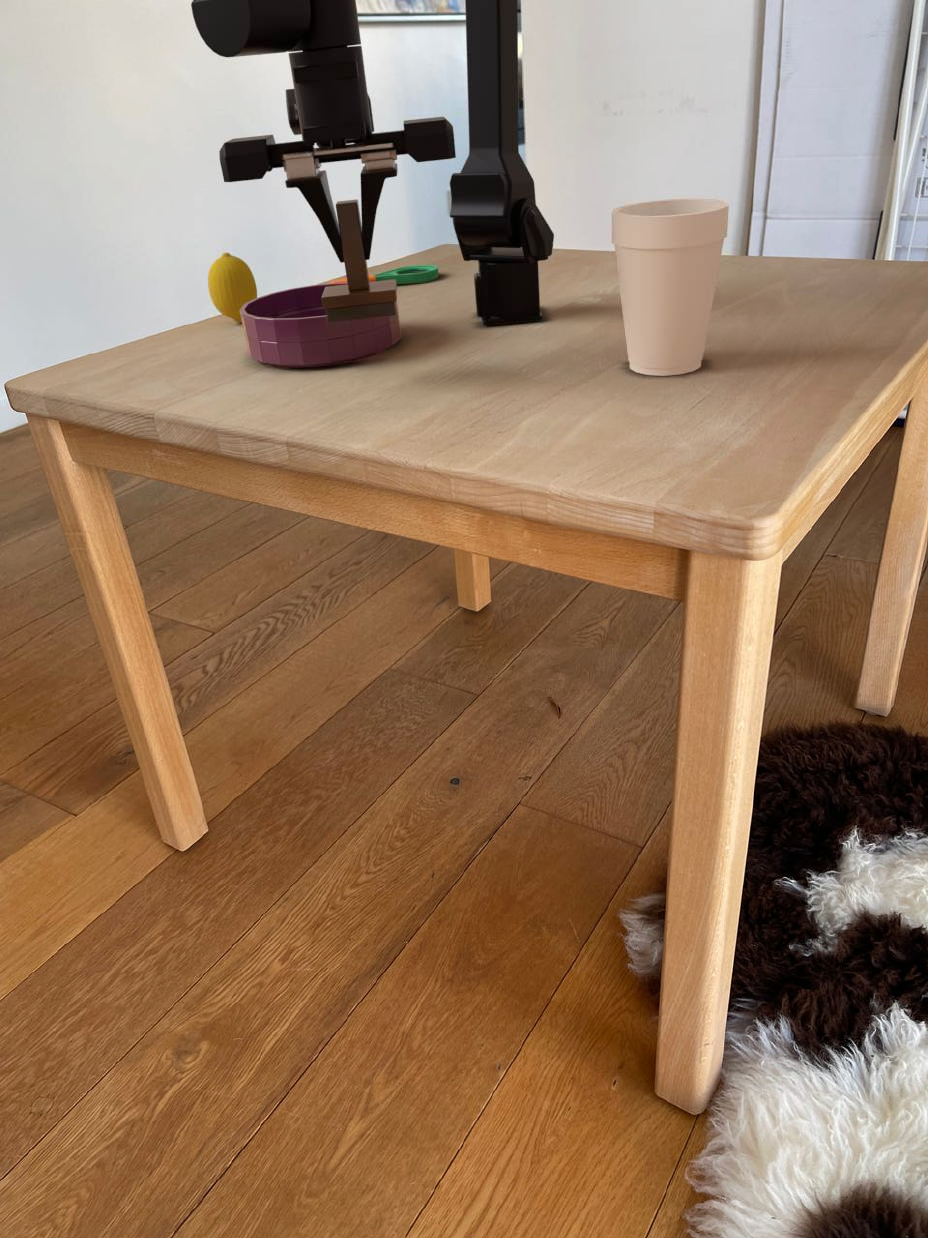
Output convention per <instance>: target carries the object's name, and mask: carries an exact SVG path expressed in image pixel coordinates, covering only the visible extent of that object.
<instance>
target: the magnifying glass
mask: <svg viewBox="0 0 928 1238" xmlns="http://www.w3.org/2000/svg"><path fill="white" fill-rule="evenodd" d="M368 275H369V274H368ZM439 277H440V276H439V267H438V266H437V265H432V264H418V265H417V264H416V265H407V266H402V267H397V268H393V269H390V270H389V269H388V270H385V271H383V272H379V273H376V274H370V275H369V282H375V281H384V280H394V279H395V280H396V285H406V284H407V285H408V284H409V285H410V284H418V283H426V282H430V281H433V280H434V281H435V280H437V279H438V278H439ZM330 283H347V278H342V279H335V280H330V281H329V284H330Z"/></svg>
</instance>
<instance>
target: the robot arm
mask: <svg viewBox="0 0 928 1238" xmlns="http://www.w3.org/2000/svg"><path fill="white" fill-rule="evenodd" d="M518 3H519V2H518V0H464V5H465V6H464V8H465V40H466V41H465V42H466V44H465V45H466V77H467V78H466V79H467V80H466V81H467V82H466V83H467V84H466V85H467V117H468V155H467V158H466V160H465V162H464V164H463V166H462V168H461V170H460V172H453V173H452V174H451V177H450V179H449V190H450V196H451V197H450V198H451V202H450V203H451V204H450V206H451V207H450V213H449V218H451V219H452V224H453V229H454V233H455V236H456V239H457V242H458V245H459V249H460V252H461V255H462V260H463V261H464V262H470V261H477V265H478V272H475V273H474V274H473V283H474V299H475V309H476V310H475V311H476V315H477V317H478V318H481V322H482V325H483V326H493V325H501V324H503V325H504V324H514V323H523V322H533V321H535V322H536V321H542V320H543V319H544V318H543V317H544V316H543V313H542V311H541V299H540V275H539V273H540V272H539V262H543V261H547V260H549V257H550V256H552V254H553V248H554V239H555V234H554V232H553V230H552V229H551V226H550V225H549V224H548V221H547V220H546V218H545V217H544V215H543V213H542V212H541V210H540V209H539V207H538V205H537V202H536V188H535V180H534V178H533V177H532V175H531V173H530V171H529V169H528V167H527V165H526V164H525V162H524V160H523V158H522V156H521V154H520V150H519V27H518V26H519V20H518V19H519V17H518V15H519V13H518V12H519V9H518V8H519V6H518V5H519V4H518ZM190 7H191V13H192V17H193V21H194V23H195V27H196V29H197V31H198V34H199V36H200V37H201V39H202V40H203V43H204V44H205V45H206V46H207V47H208V48H209V50H211V52H213V53H215V54H216V55H217V56H220V57H223V58H238V57H250V56H260V55H271V54H272V55H273V54H282V53H287V52H288V59H289V66H290V71H291V78H292V84H293V88H288V89H285V103H286V111H287V120H288V121H287V122H288V125H289V128H290V130H291V132H292V135H294V136H299V135H300V136H301V139H302V140H296V141H288V142H287V141H286V142H277V143H276V139H275V137H274V134H265V135H256V136H255V135H253V136H246V137H237V138H232V139H230V140H227V141H225V142H224V143H223V144H222V146H221V148H220V149H219V151H218V152H219V153H218V154H219V163H220V168H221V169H220V170H221V173H222V178H223V182H224V183H236V182H245V181H254V180H255V181H257V180H263V179H264V177H265V175H266V174H267V173H268V172H272V171H273V169H278V168H279V169H280V168H283V170H284V172H285V174H286V180H285V181H284V183H285V187H286V189H294V188H295V189H298V190H299V191H300V194H301V195H302V196H303V198H304V199H305V201H306V202H307V203H308V205H309V207H310V208H311V210H312V211H313V213H314V214H315V216H316V217H317V219H318V221H319V223H320V225H321V226H322V229H323V231H324V233H325V235H326V237H327V240H328V241H329V243H330V245H331V247H332V248H333V251H334V252H335V255H336V257H337V259H338V261H339V262H340V264H341V263H344V257H343V250H342V244H341V237H340V231H339V224H338V217H337V212H336V208H335V204H334V202H333V198H332V194H331V190H330V186H329V185H330V184H329V179H328V175H327V170H326V169H325V170H324V169H323V170H321V167H322V164H326V163H328V164H329V163H336V162H337V163H338V162H346V161H355V160H361V164H364V165H363V166H362V169H361V171H360V174H359V175H360V209H361V210H360V211H361V212H360V214H361V225H362V244H363V249H364V254H365V260H366V261H370V258H371V252H372V245H373V237H374V231H375V224H376V215H377V210H378V206H379V202H380V198H381V196H382V191H383V188H384V184H385V180H386V179H389V178H395V177H397V176H398V170H399V168H398V163H397V162H396V161H397V160H398V156H402V155H404V156H405V155H408V156H409V157H411V159H413V160H414V161H415V162H416V163H424V162H425V163H426V162H434V161H435V162H436V161H443V160H445V161H446V160H451V159H456V158H457V153H456V142H455V134H454V125H453V124H452V123H451V122H450V121H449V120H448V119H447V118H446V117H445V116H435V117H426V118H417V119H406V120H403V129H401V130H391V131H382V132H375V125H374V117H373V109H372V101H371V97H370V95H369V93H368V86H367V77H366V70H365V61H364V55H363V47H362V41H361V40H362V39H361V32H360V24H359V23H360V22H359V16H358V8H357V0H192V1H191V3H190ZM315 145H316V146H317V147H315Z"/></svg>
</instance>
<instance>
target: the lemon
mask: <svg viewBox="0 0 928 1238" xmlns="http://www.w3.org/2000/svg"><path fill="white" fill-rule="evenodd" d="M207 276H208V277H207V286H208V287H207V289H208V293H209V296H210V299H211V301H212V304H213V305H214V307H215V309H216V310H217V311H218V312H219V313H220V314H222V315H223V316H225V317H227V318H230V319H232V320H233V321H235V322H236V323H238V324H240V323H242V320H241V315H240V309H241V307H242V306H243V305H244V304H245V303H247V302H249V301H251V300H253V299H255V298H258V288H257V283H256V279H255V276H254V273H253V272H252V270H251V268H250V266H249V265H248V264H247V262H245V261H244V260H243V259H242V258H239V256H238V257H237V256H234V255H232V254H230V252H223V253H222V254H221V256H219V257H218V258H217V259H215V261H213V262H212V264H211V266H210V267H209V270H208V274H207Z"/></svg>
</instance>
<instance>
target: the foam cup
mask: <svg viewBox="0 0 928 1238" xmlns="http://www.w3.org/2000/svg"><path fill="white" fill-rule="evenodd" d="M729 207H730V206H729V202H728V201H724V200H719V199H715V198H714V199H713V198H710V199H709V198H670V199H659V200H658V199H657V200H648V201H640V202H636V203H630V204H624V205H622V206H619V207H615V208H613V209H612V211H611V244H613V246H614V254H615V260H616V267H617V268H616V269H617V270H616V271H617V278H618V288H619V293H620V294H619V295H620V300H621V301H620V302H621V303H620V304H621V310H622V319H623V327H624V334H625V335H624V336H625V344H626V351H627V359H628V362H629V370H631V371H633V372H634V373H637V374H641V375H646V376H656V377H657V376H660V377H661V376H662V377H667V376H668V377H669V376H677V375H685V374H688V373H692V372H695V371H697V370H698V369H700V368H701V367H702V360H703V359H704V354H705V347H706V342H707V337H708V330H709V326H710V325H709V324H710V320H711V314H712V309H713V303H714V297H715V292H716V286H717V280H718V275H719V271H720V270H719V269H720V264H721V258H722V252H723V247H724V242H725V239H726V238H727V237H728V224H729V223H728V222H729Z"/></svg>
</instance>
